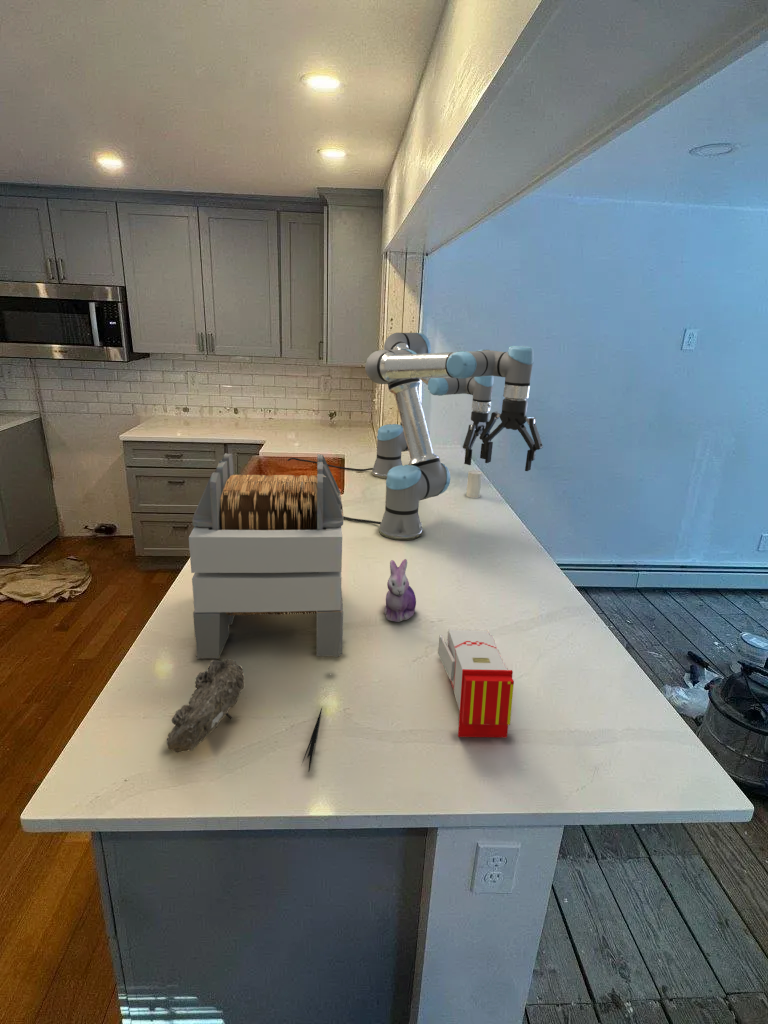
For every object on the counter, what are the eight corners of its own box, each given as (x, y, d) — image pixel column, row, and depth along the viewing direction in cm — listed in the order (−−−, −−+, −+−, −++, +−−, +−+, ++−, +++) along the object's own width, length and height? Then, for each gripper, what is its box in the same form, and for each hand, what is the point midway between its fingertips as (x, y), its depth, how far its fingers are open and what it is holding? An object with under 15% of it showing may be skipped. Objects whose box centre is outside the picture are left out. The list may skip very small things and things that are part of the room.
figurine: (392, 627, 141) (395, 572, 136) (374, 608, 149) (376, 556, 144) (425, 619, 145) (429, 566, 140) (405, 601, 154) (408, 550, 149)
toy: (488, 613, 130) (523, 677, 101) (484, 667, 133) (517, 744, 104) (435, 612, 130) (455, 676, 101) (432, 666, 133) (451, 743, 103)
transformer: (219, 588, 156) (210, 443, 142) (338, 587, 160) (340, 446, 146) (193, 661, 124) (179, 483, 110) (343, 657, 128) (346, 485, 114)
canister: (467, 497, 242) (470, 473, 238) (464, 493, 247) (467, 470, 244) (481, 498, 242) (483, 474, 239) (478, 493, 248) (480, 470, 244)
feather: (331, 679, 122) (336, 673, 122) (307, 777, 96) (313, 769, 95) (324, 675, 122) (329, 669, 121) (298, 772, 95) (304, 764, 95)
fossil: (192, 660, 117) (244, 628, 112) (224, 691, 120) (276, 661, 115) (142, 746, 98) (202, 712, 93) (182, 779, 101) (242, 748, 96)
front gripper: (559, 402, 169) (549, 471, 176) (483, 393, 182) (477, 457, 190) (550, 405, 163) (540, 476, 171) (473, 395, 177) (466, 461, 184)
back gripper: (473, 416, 222) (468, 468, 229) (502, 409, 240) (496, 458, 248) (457, 413, 226) (452, 465, 233) (486, 407, 245) (481, 454, 252)
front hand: (507, 466), depth 180 cm, fingers open, 13 cm apart
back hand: (475, 461), depth 240 cm, fingers open, 13 cm apart
